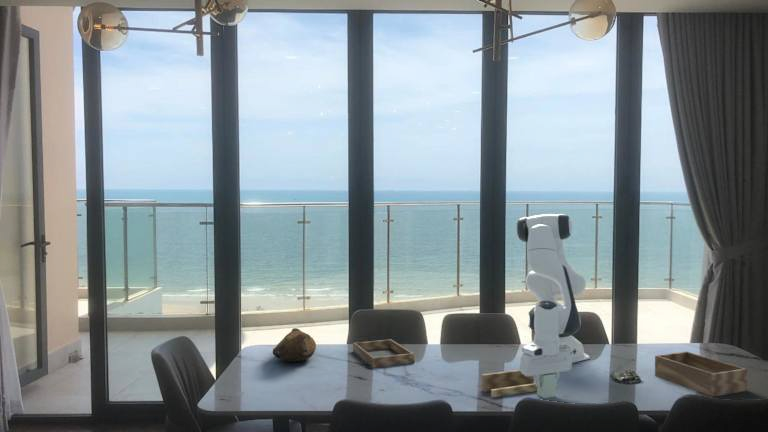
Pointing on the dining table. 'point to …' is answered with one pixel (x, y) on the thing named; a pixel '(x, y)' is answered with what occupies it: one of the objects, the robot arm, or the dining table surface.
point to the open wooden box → (701, 373)
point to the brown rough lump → (295, 346)
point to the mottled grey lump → (625, 377)
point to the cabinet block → (547, 385)
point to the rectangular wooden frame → (402, 358)
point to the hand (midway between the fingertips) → (546, 385)
